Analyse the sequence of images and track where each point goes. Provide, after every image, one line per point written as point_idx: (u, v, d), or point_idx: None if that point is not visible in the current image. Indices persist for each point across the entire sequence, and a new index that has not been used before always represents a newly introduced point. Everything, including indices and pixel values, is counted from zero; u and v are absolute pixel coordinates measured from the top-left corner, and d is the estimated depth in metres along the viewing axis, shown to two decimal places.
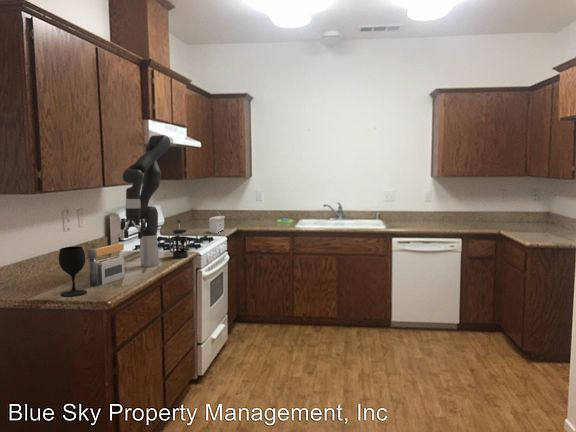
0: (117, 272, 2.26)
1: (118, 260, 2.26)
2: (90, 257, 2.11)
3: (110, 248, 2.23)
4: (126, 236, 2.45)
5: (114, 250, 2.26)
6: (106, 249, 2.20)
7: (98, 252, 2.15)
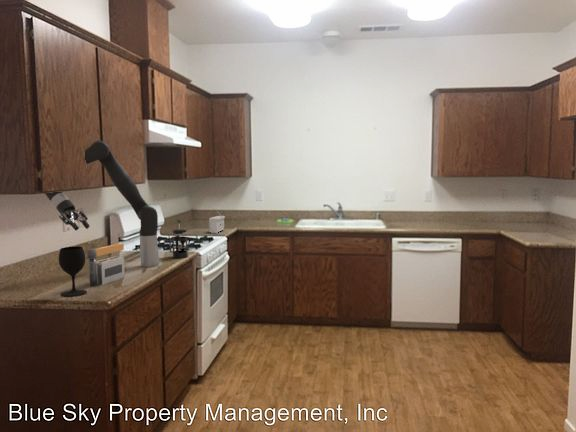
0: (117, 272, 2.26)
1: (118, 260, 2.26)
2: (90, 257, 2.11)
3: (110, 248, 2.23)
4: (86, 226, 2.33)
5: (114, 250, 2.26)
6: (106, 249, 2.20)
7: (98, 252, 2.15)
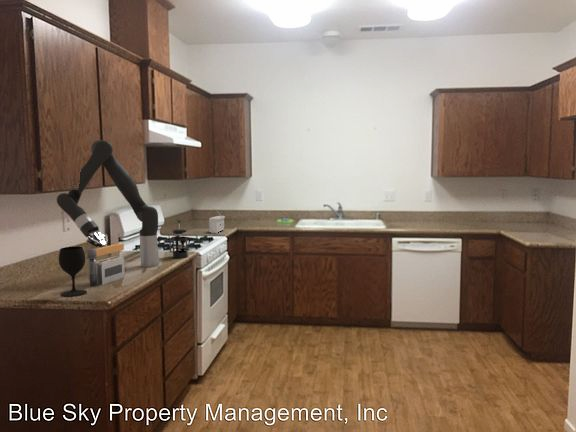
0: (117, 272, 2.26)
1: (118, 260, 2.26)
2: (90, 257, 2.11)
3: (110, 248, 2.23)
4: None
5: (114, 250, 2.26)
6: (106, 249, 2.20)
7: (98, 252, 2.15)
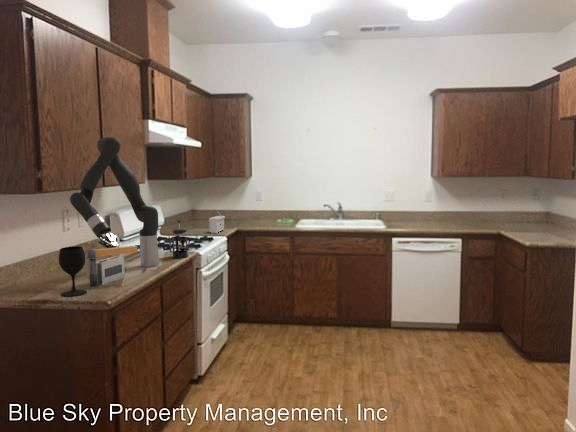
0: (117, 272, 2.26)
1: (118, 260, 2.26)
2: (88, 257, 2.12)
3: (116, 250, 2.18)
4: None
5: (122, 252, 2.20)
6: (110, 250, 2.17)
7: (97, 253, 2.13)
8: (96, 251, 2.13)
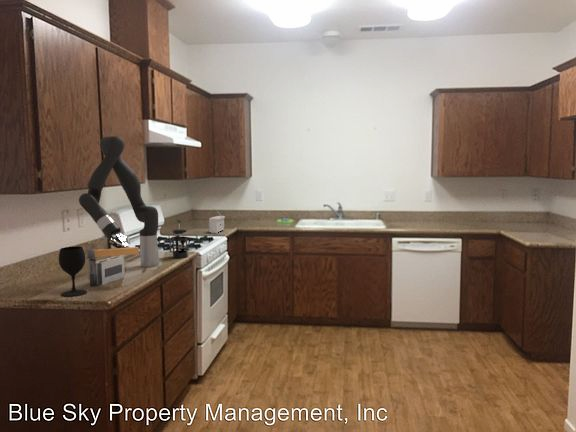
0: (117, 272, 2.26)
1: (118, 260, 2.26)
2: (87, 257, 2.12)
3: (116, 251, 2.16)
4: None
5: (123, 253, 2.17)
6: (110, 251, 2.15)
7: (97, 253, 2.13)
8: (95, 251, 2.12)
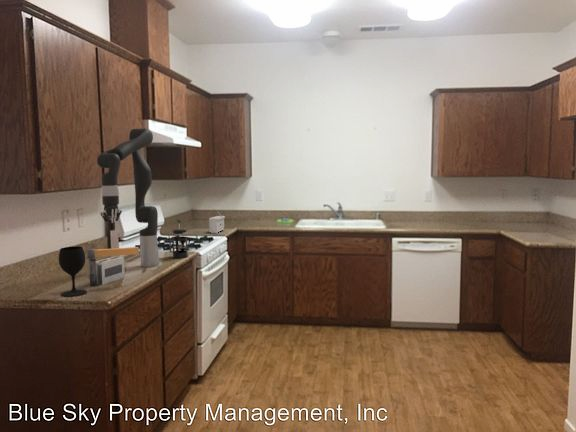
0: (117, 272, 2.26)
1: (118, 260, 2.26)
2: (87, 257, 2.12)
3: (116, 251, 2.16)
4: None
5: (123, 253, 2.17)
6: (110, 251, 2.15)
7: (97, 253, 2.13)
8: (95, 251, 2.12)
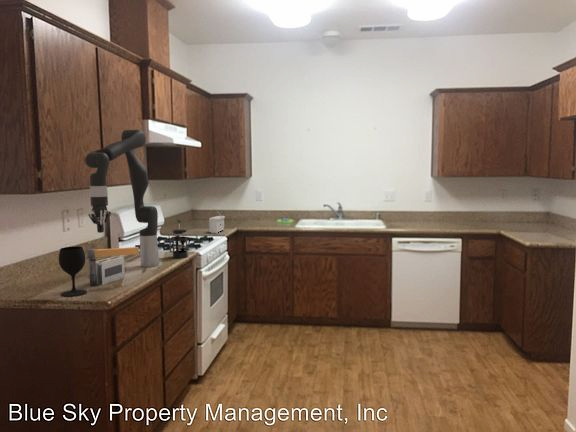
0: (117, 272, 2.26)
1: (118, 260, 2.26)
2: (87, 257, 2.12)
3: (116, 251, 2.16)
4: None
5: (123, 253, 2.17)
6: (110, 251, 2.15)
7: (97, 253, 2.13)
8: (95, 251, 2.12)
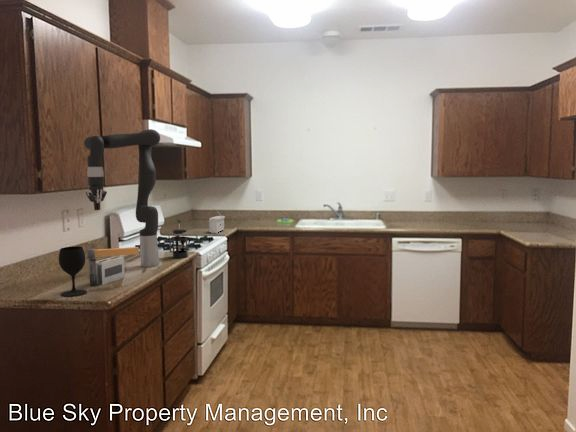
0: (117, 272, 2.26)
1: (118, 260, 2.26)
2: (87, 257, 2.12)
3: (116, 251, 2.16)
4: None
5: (123, 253, 2.17)
6: (110, 251, 2.15)
7: (97, 253, 2.13)
8: (95, 251, 2.12)
